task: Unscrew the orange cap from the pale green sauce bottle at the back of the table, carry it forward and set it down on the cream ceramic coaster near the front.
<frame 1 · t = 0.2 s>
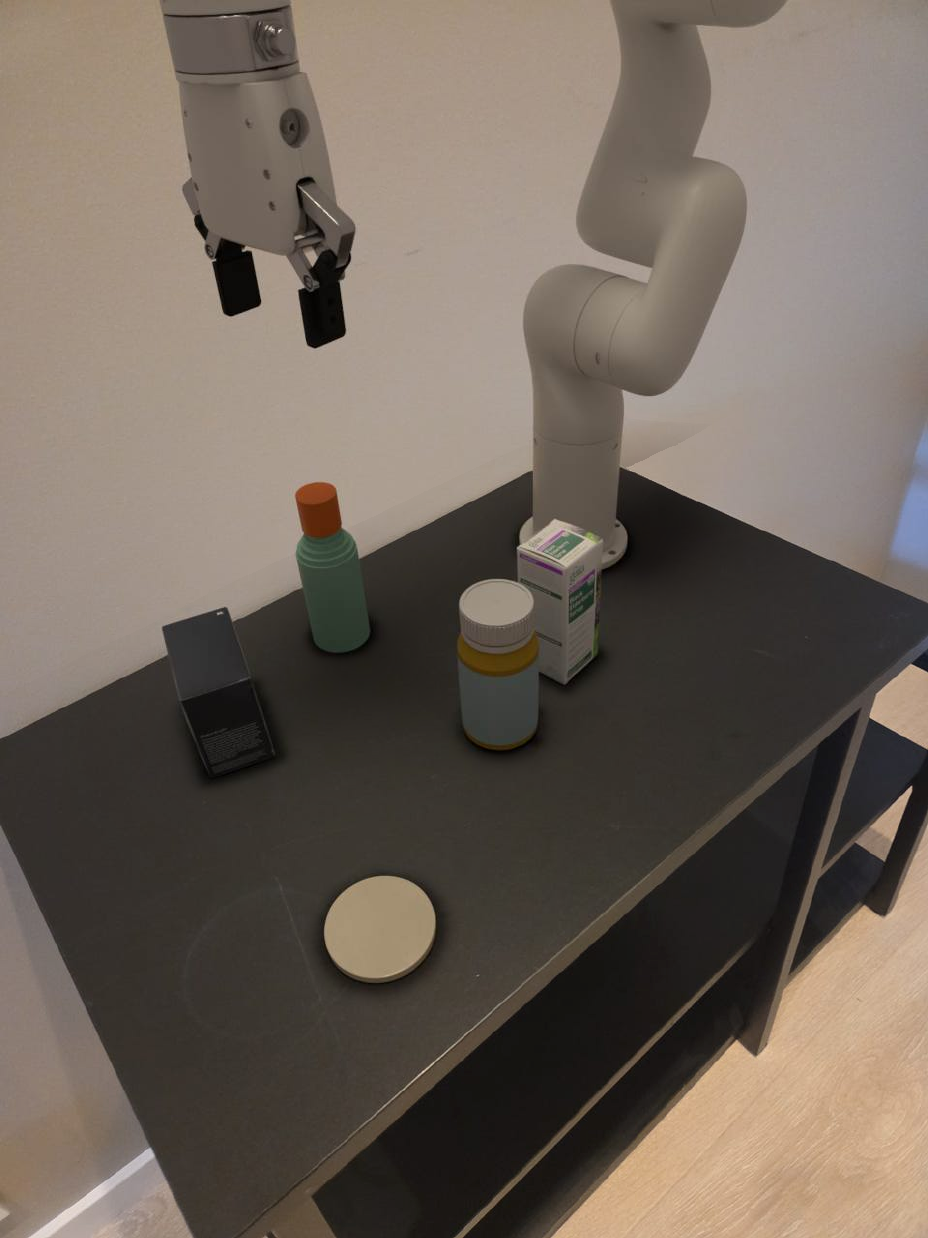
hand: (283, 325, 63), 36 cm above the table, tool pointing down, fingers open, 9 cm apart
coaster: (380, 929, 66), on the table
sauce bottle: (341, 633, 92), on the table
syrup box: (557, 660, 88), on the table
bottle: (500, 727, 81), on the table
small box: (231, 731, 82), on the table
cap: (316, 496, 81), point 17 cm above the table, screwed on, not yet turned
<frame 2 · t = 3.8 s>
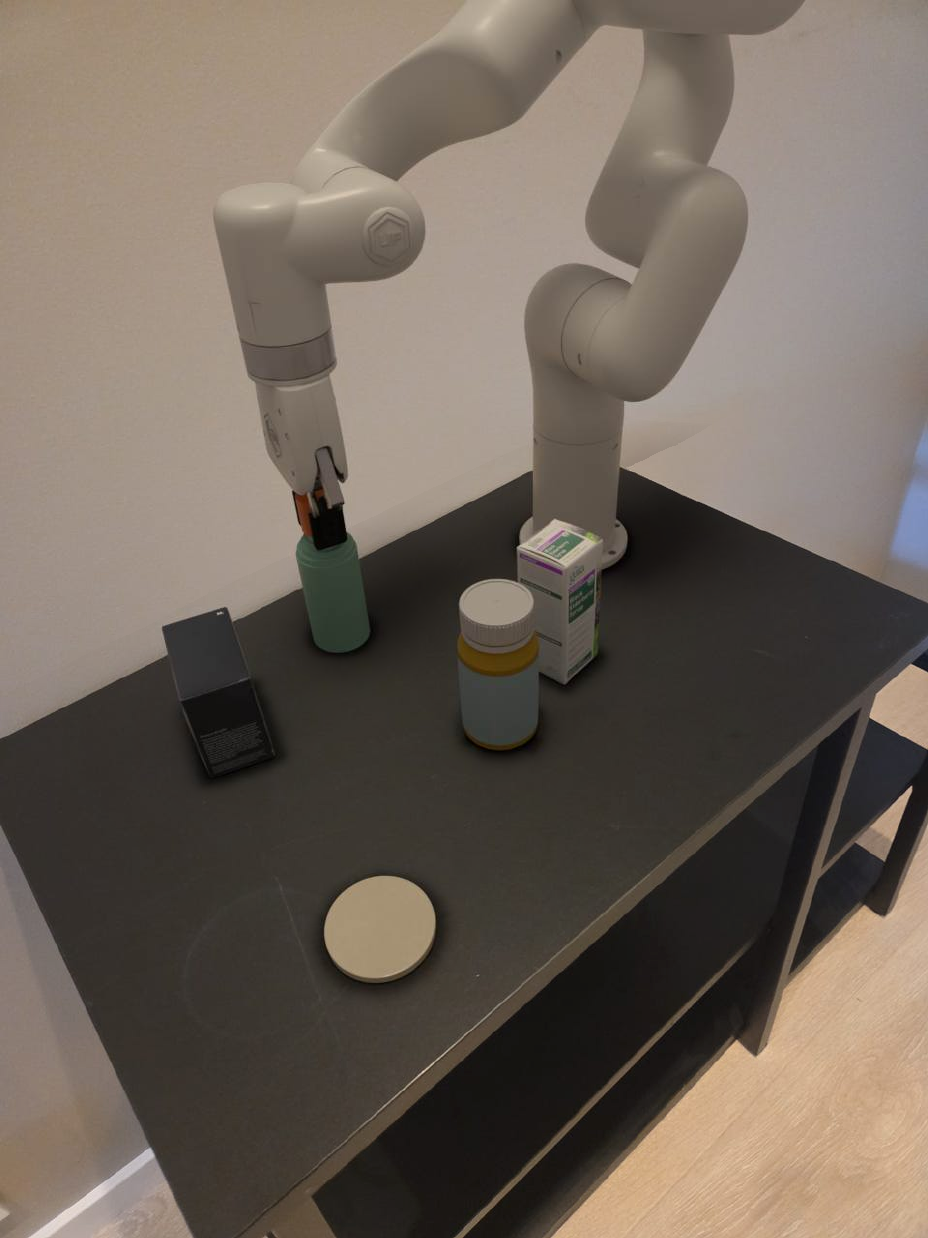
hand: (322, 531, 84), 13 cm above the table, tool pointing down, fingers closed on cap, 3 cm apart
cap: (316, 496, 81), point 17 cm above the table, screwed on, not yet turned, touching gripper
everything else where it was.
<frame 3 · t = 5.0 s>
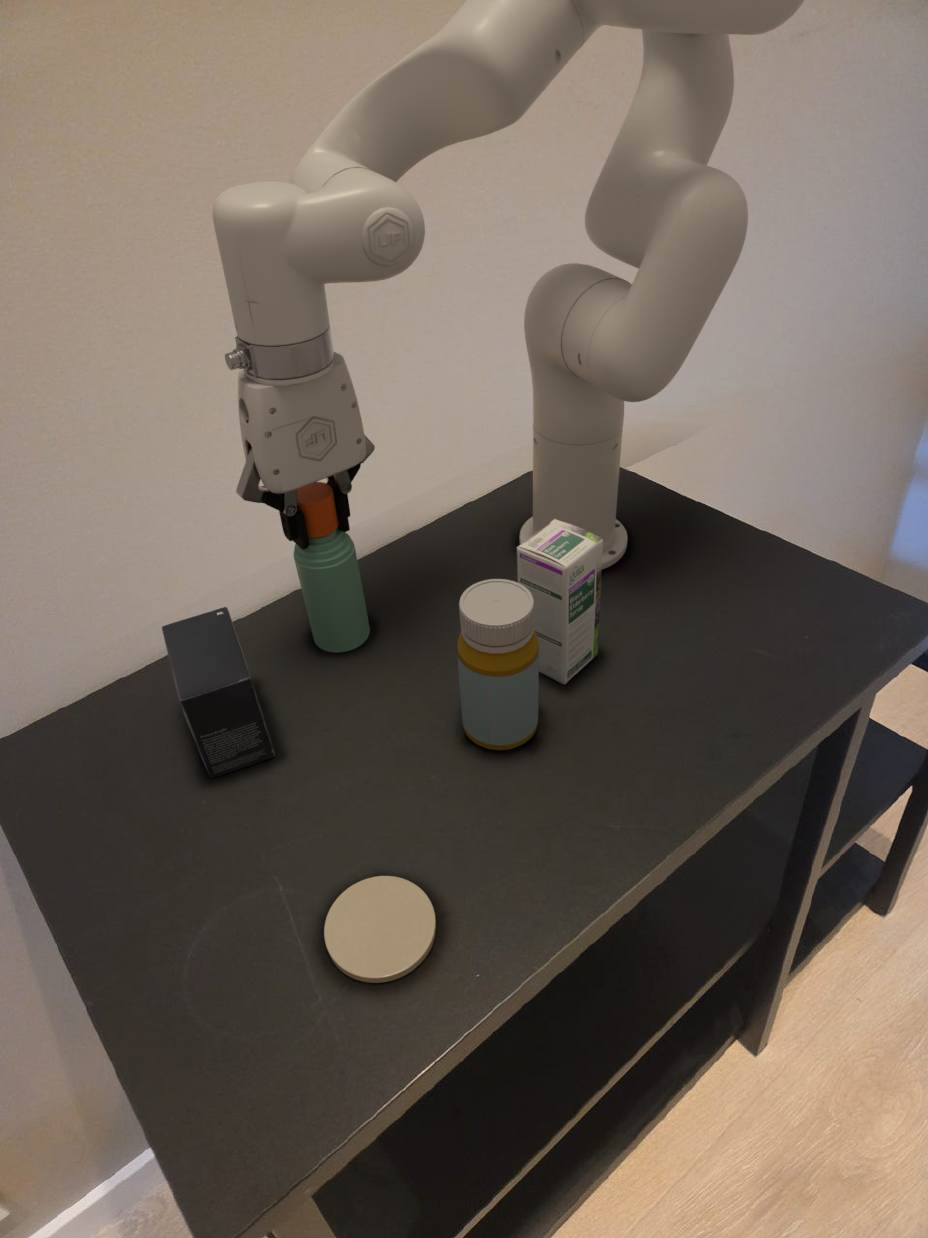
hand: (318, 532, 83), 13 cm above the table, tool pointing down, fingers closed on cap, 3 cm apart
sauce bottle: (341, 633, 92), on the table, touching gripper
cap: (312, 496, 81), point 17 cm above the table, turned 100° so far, risen 0.1 cm, still on its thread, touching gripper
everything else where it was.
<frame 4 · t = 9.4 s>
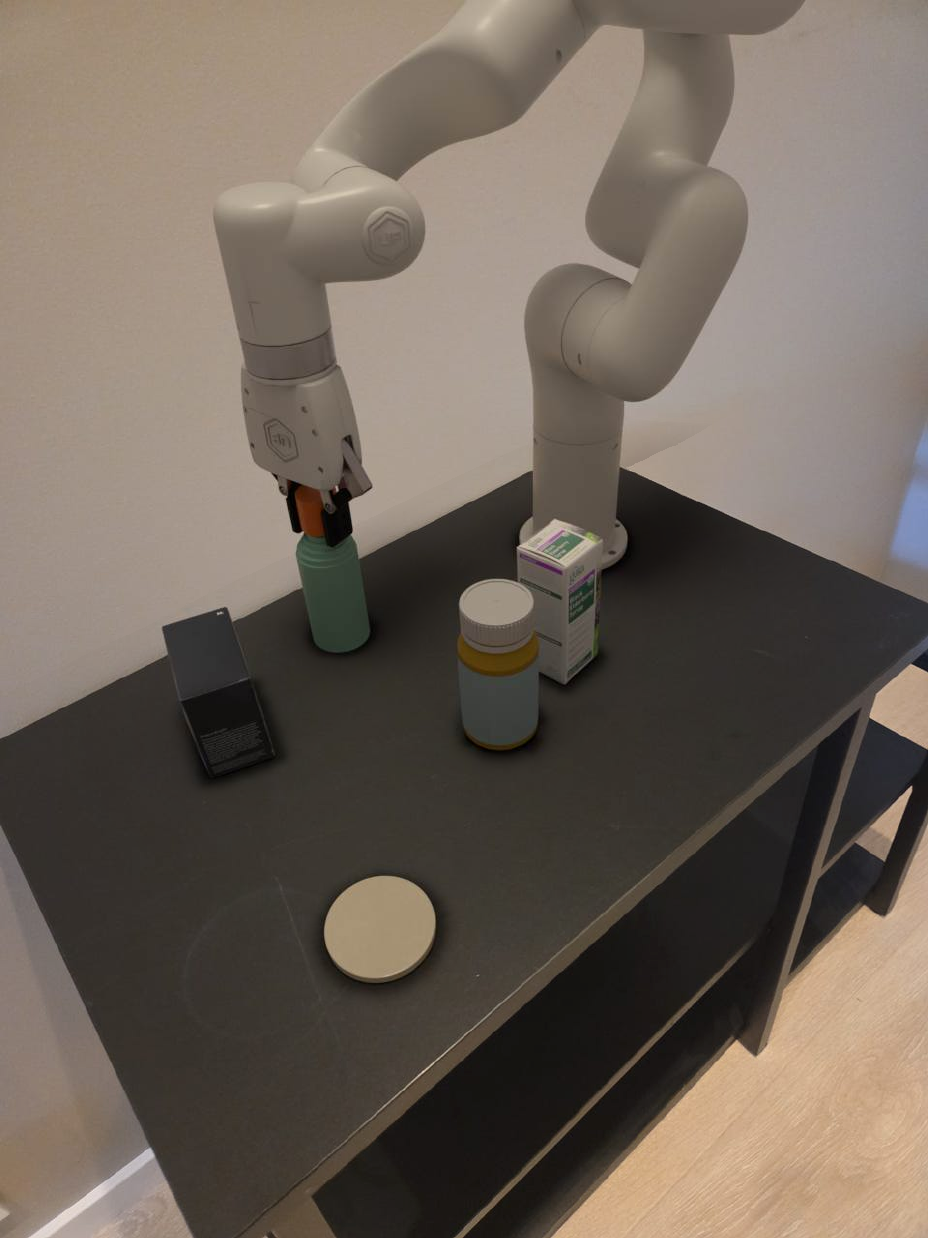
hand: (322, 531, 83), 13 cm above the table, tool pointing down, fingers closed on cap, 3 cm apart
sauce bottle: (341, 633, 92), on the table
cap: (316, 495, 81), point 17 cm above the table, turned 127° so far, risen 0.1 cm, still on its thread, touching gripper
everything else where it was.
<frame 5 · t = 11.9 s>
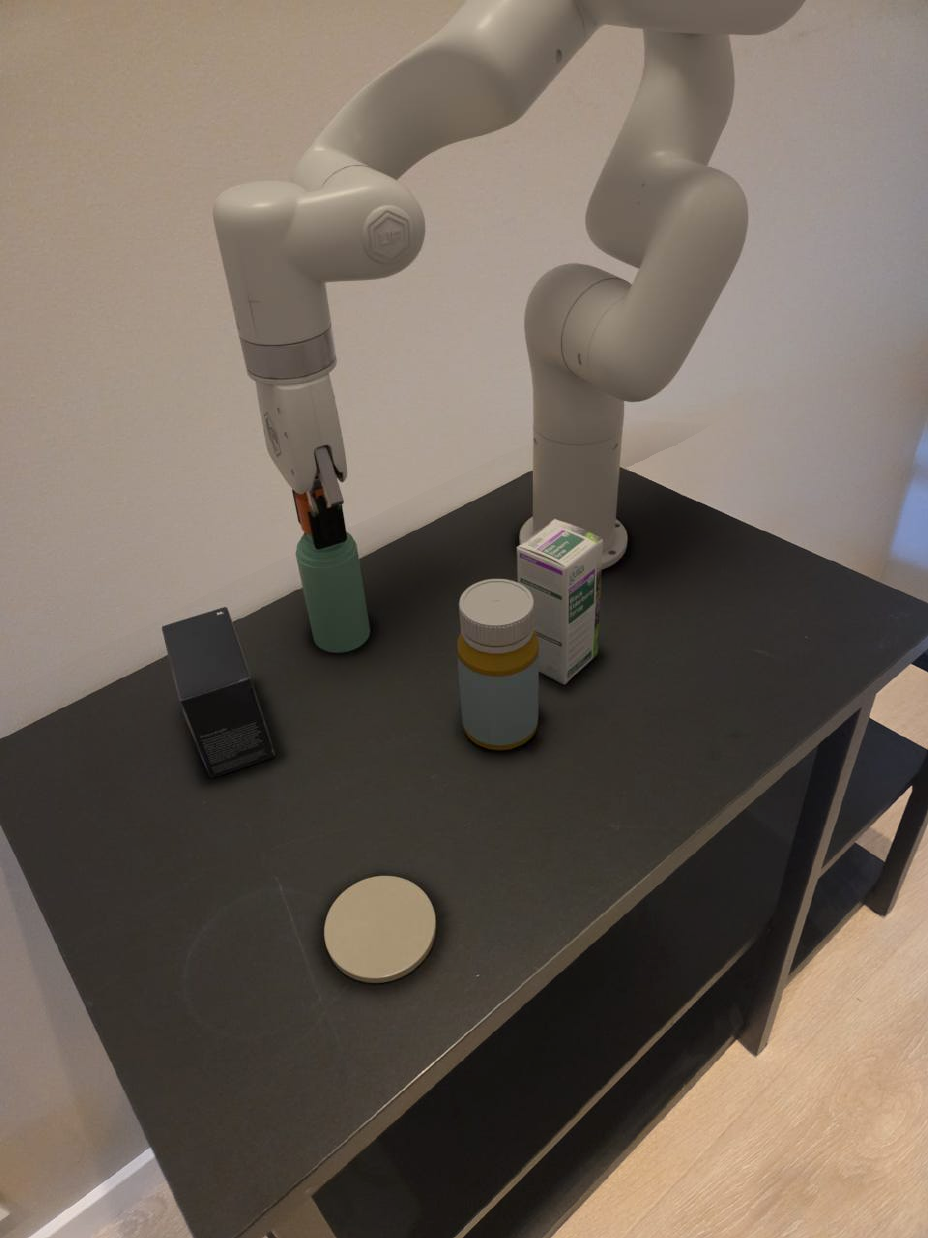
hand: (322, 530, 83), 13 cm above the table, tool pointing down, fingers closed on cap, 3 cm apart
cap: (316, 494, 81), point 17 cm above the table, turned 199° so far, risen 0.2 cm, still on its thread, touching gripper
everything else where it was.
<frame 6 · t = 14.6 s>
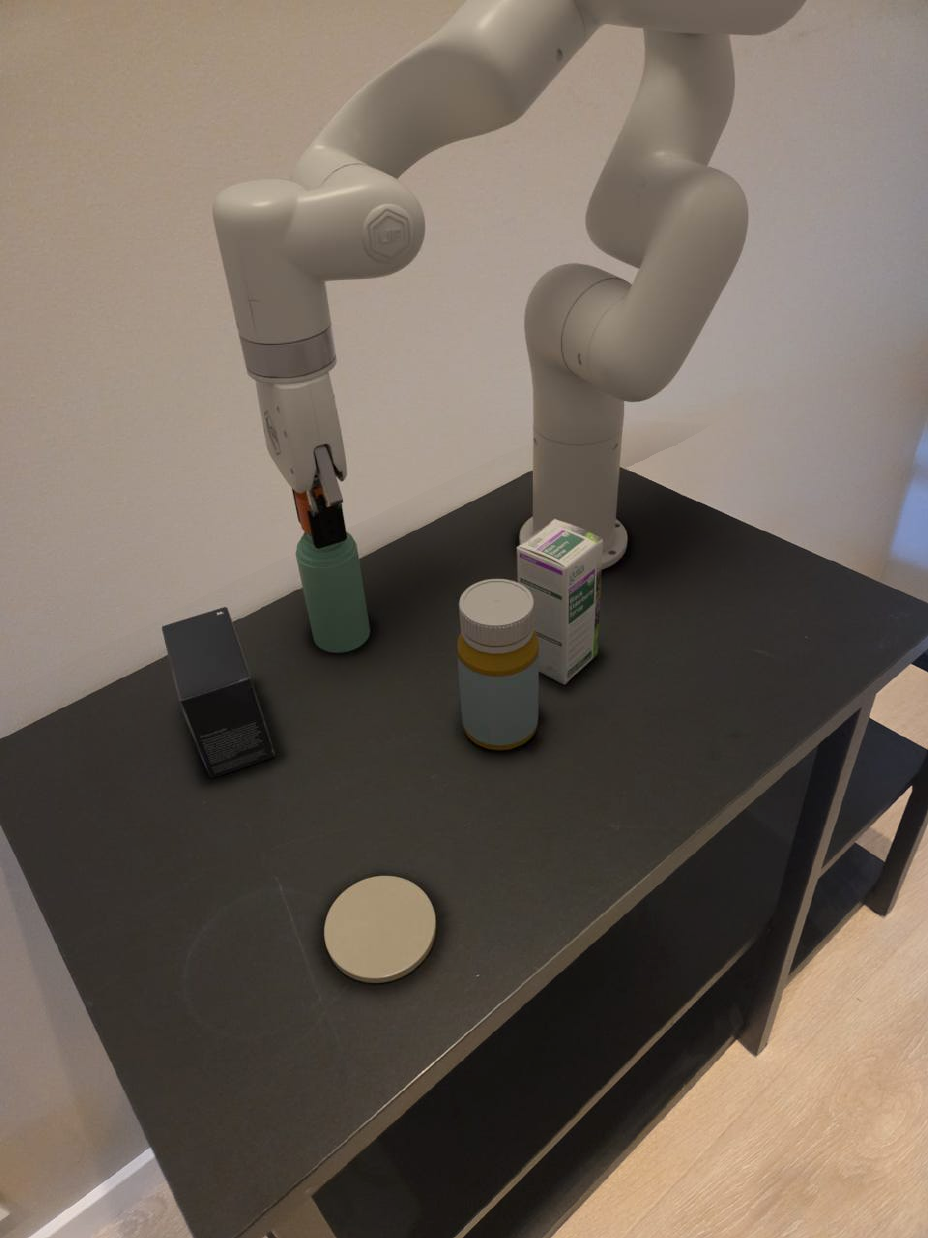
hand: (322, 529, 83), 13 cm above the table, tool pointing down, fingers closed on cap, 3 cm apart
cap: (315, 493, 81), point 17 cm above the table, turned 299° so far, risen 0.3 cm, still on its thread, touching gripper
everything else where it was.
when the fingers open (3 cm above the table, at t = 25.0 s): cap drops 2 cm, resting on coaster.
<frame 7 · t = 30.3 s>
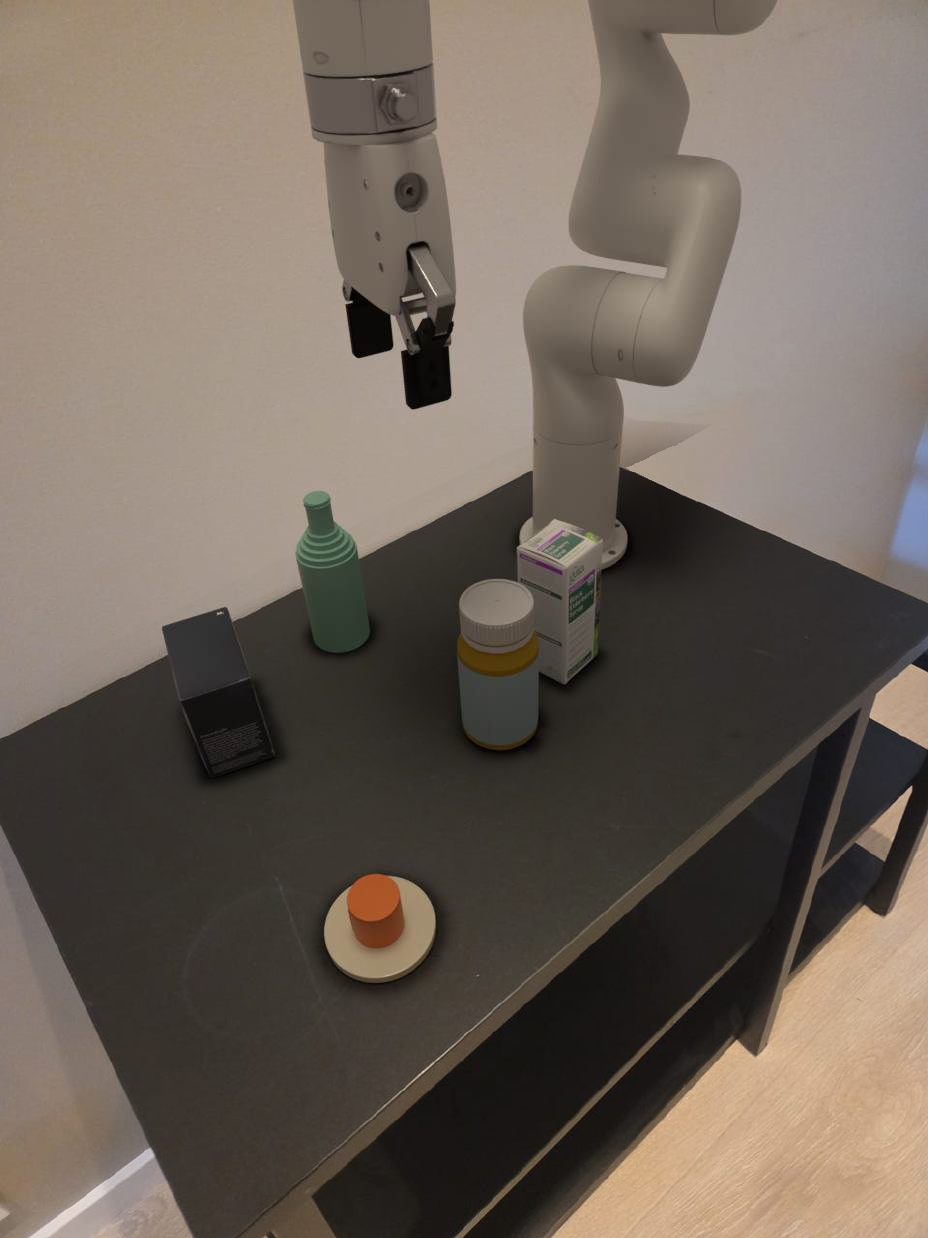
hand: (399, 376, 62), 33 cm above the table, tool pointing down, fingers open, 9 cm apart
cap: (373, 900, 63), point 4 cm above the table, off its thread, touching coaster
everything else where it was.
at the end: cap inside the target area on the coaster (0.0 cm from its centre), point 4.1 cm above the coaster's base; the gripper is holding nothing; sauce bottle tilted 0° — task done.
